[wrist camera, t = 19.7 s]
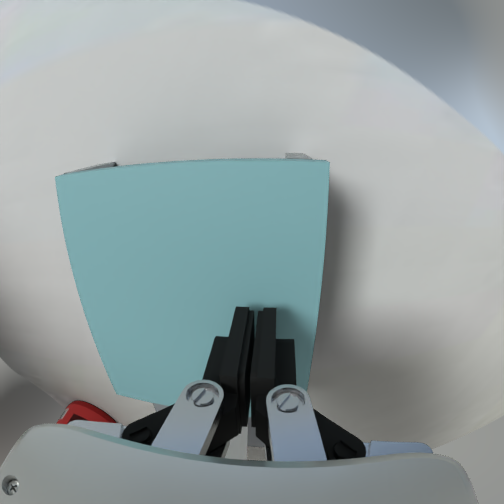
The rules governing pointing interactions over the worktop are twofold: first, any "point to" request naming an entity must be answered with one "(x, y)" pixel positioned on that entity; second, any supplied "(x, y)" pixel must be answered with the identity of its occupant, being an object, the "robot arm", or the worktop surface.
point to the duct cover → (193, 261)
